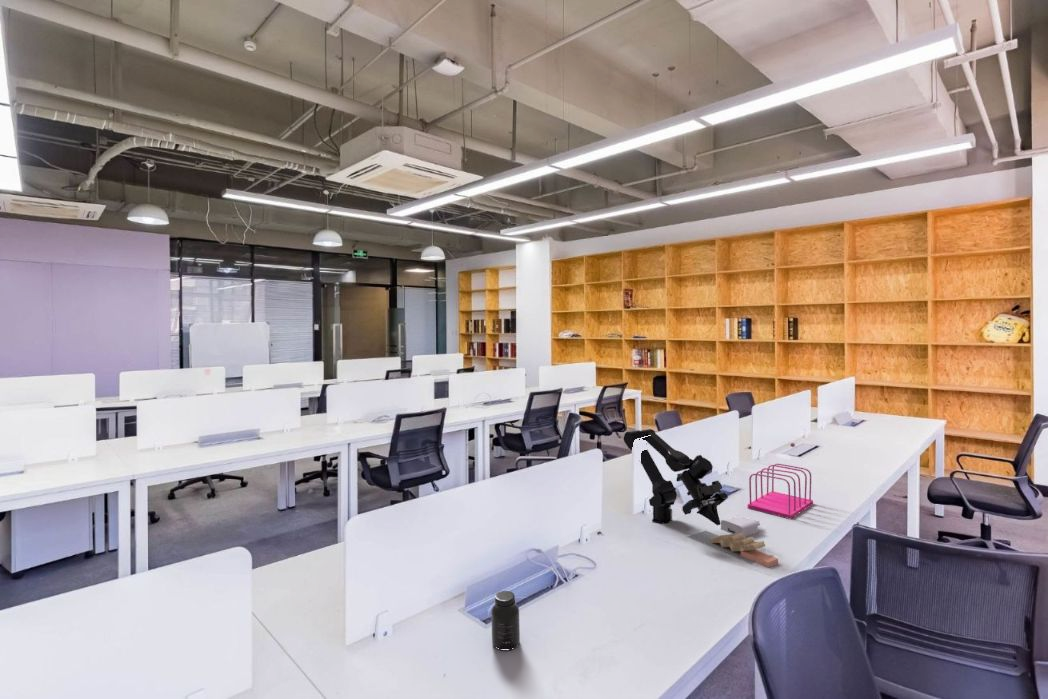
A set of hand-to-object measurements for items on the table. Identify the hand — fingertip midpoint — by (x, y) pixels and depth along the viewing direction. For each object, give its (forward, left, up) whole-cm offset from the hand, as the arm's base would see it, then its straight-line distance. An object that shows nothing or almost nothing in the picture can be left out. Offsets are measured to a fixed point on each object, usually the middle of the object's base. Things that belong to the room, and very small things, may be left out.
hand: (719, 524), depth 182 cm
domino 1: (-1, +1, -6) cm, 6 cm away
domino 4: (+9, -5, -6) cm, 12 cm away
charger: (+6, +17, -7) cm, 20 cm away
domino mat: (+3, -2, -7) cm, 8 cm away
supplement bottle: (-37, -84, -7) cm, 92 cm away
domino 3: (+6, -3, -6) cm, 9 cm away
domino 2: (+2, -1, -6) cm, 6 cm away
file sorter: (+17, +52, -7) cm, 56 cm away
